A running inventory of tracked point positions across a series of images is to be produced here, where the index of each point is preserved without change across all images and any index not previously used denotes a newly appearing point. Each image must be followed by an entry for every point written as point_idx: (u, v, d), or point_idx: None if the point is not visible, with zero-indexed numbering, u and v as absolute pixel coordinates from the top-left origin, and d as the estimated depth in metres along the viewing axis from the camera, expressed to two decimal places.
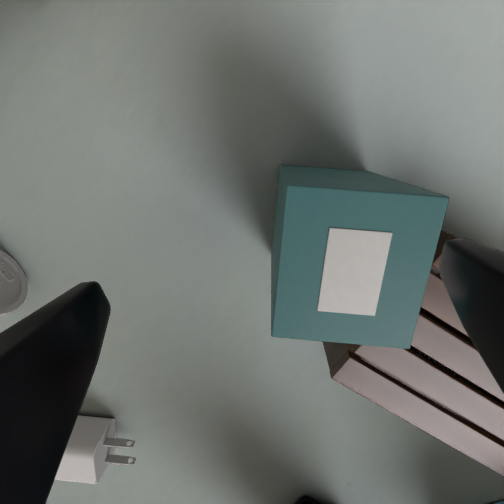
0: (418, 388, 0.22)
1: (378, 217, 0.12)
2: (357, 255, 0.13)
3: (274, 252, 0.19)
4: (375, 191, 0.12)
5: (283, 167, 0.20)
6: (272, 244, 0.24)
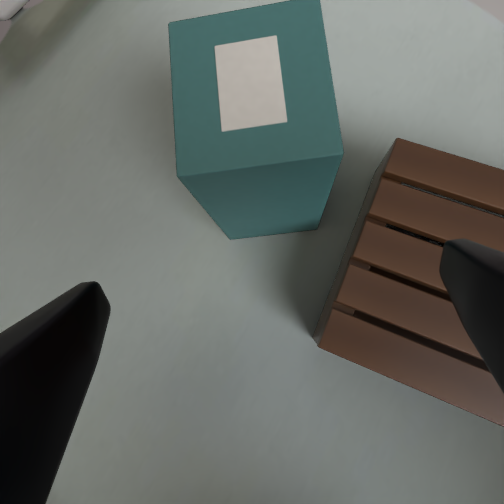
0: (442, 339, 0.16)
1: (258, 27, 0.13)
2: (249, 63, 0.12)
3: None
4: (250, 9, 0.13)
5: None
6: None
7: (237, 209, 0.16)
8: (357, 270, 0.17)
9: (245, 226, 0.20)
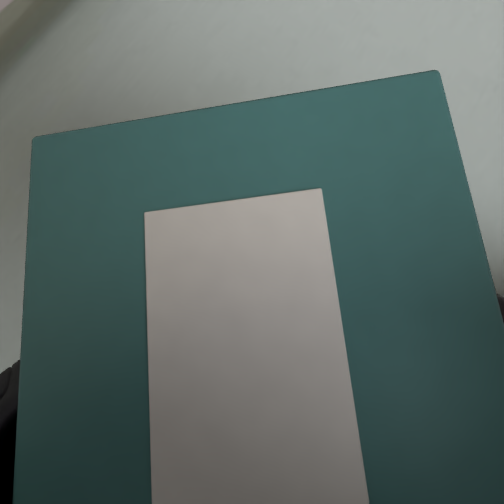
0: None
1: (268, 158, 0.04)
2: (240, 274, 0.04)
3: None
4: None
5: None
6: None
7: None
8: None
9: None
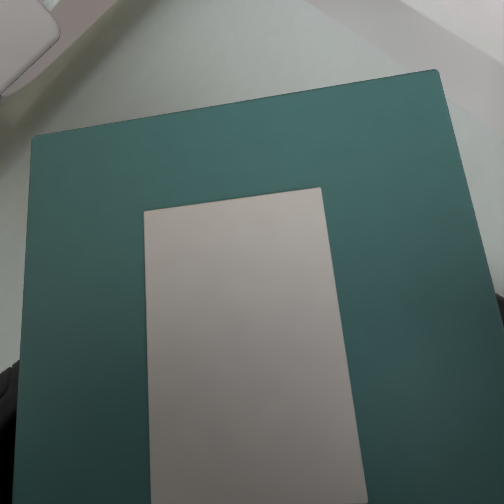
0: None
1: (268, 158, 0.04)
2: (240, 272, 0.04)
3: None
4: None
5: None
6: None
7: None
8: None
9: None
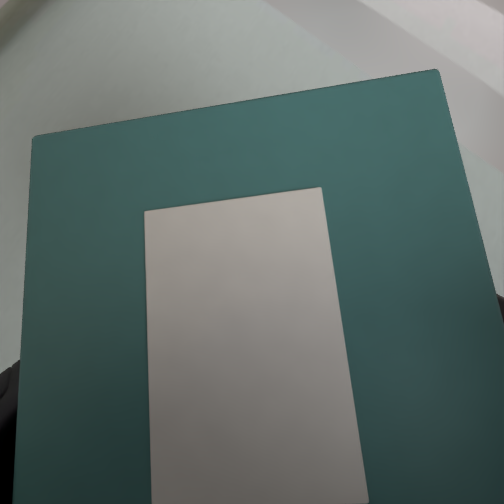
0: None
1: (268, 157, 0.04)
2: (240, 272, 0.04)
3: None
4: None
5: None
6: None
7: None
8: None
9: None
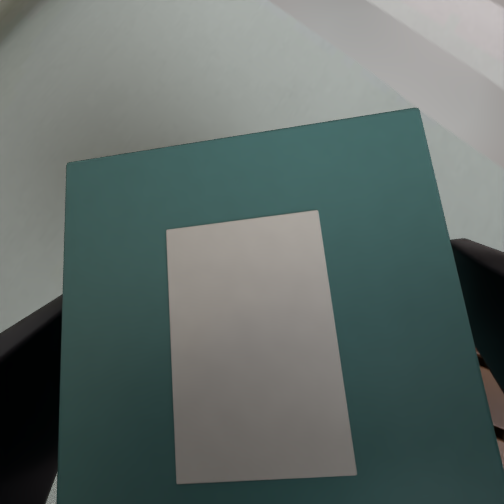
0: None
1: (272, 183, 0.05)
2: (249, 283, 0.05)
3: None
4: (252, 136, 0.06)
5: None
6: None
7: None
8: None
9: None
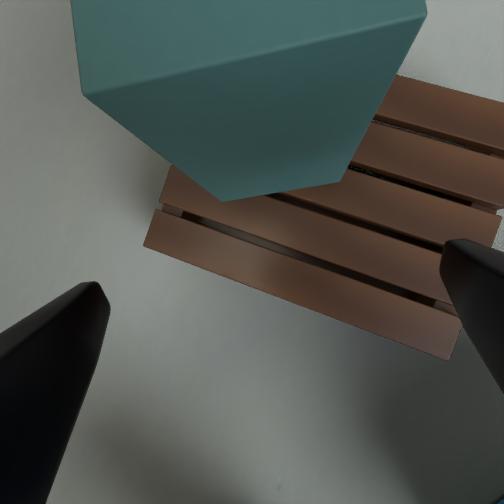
0: (253, 231, 0.17)
1: None
2: None
3: None
4: None
5: None
6: None
7: (222, 158, 0.10)
8: (178, 170, 0.17)
9: (239, 183, 0.14)
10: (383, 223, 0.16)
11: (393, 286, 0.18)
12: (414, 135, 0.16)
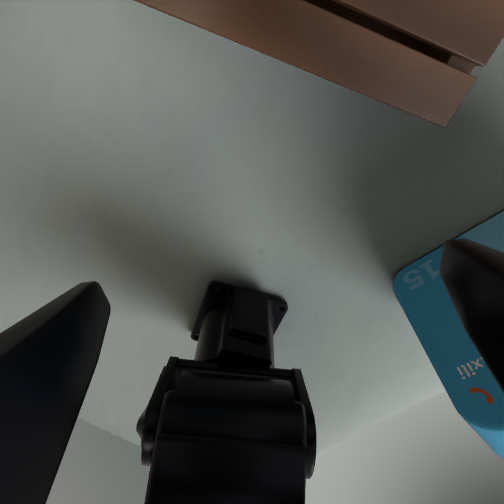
0: None
1: None
2: None
3: None
4: None
5: None
6: None
7: None
8: None
9: None
10: None
11: (401, 42, 0.15)
12: None
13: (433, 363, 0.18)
